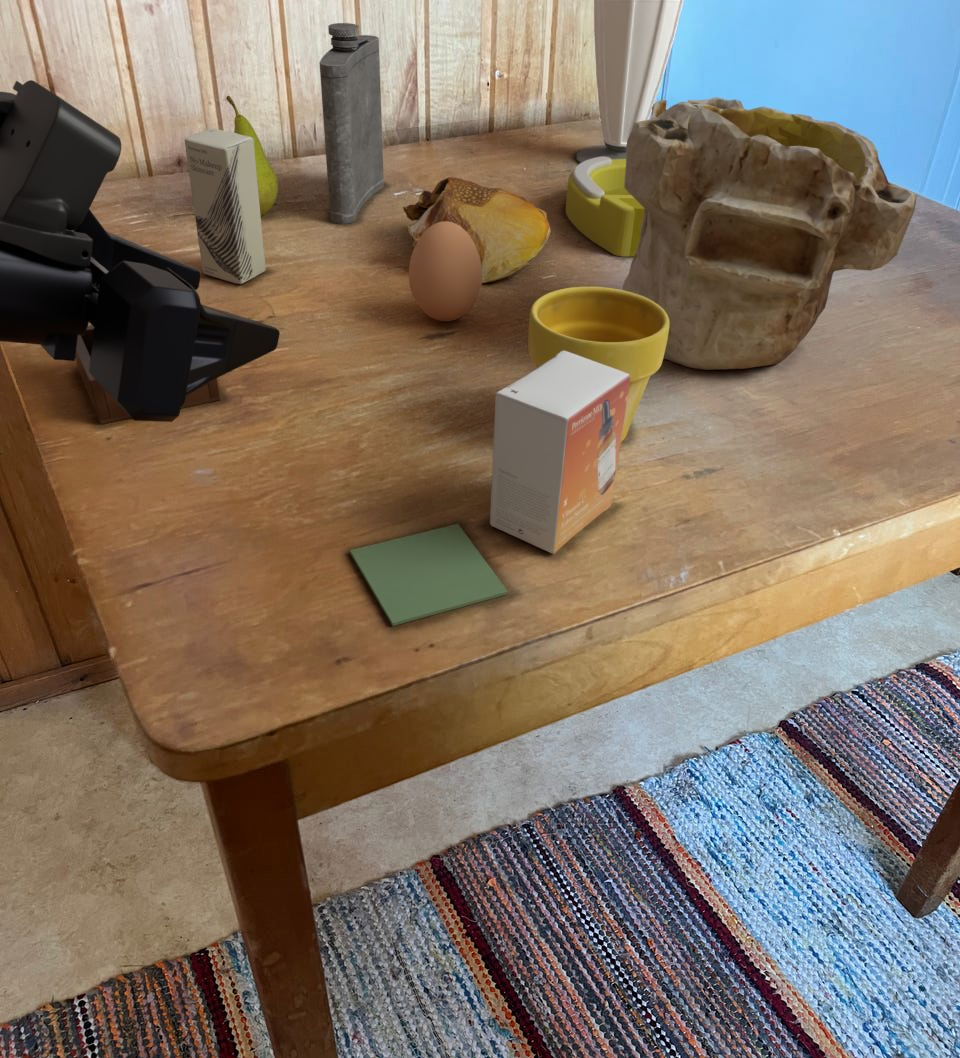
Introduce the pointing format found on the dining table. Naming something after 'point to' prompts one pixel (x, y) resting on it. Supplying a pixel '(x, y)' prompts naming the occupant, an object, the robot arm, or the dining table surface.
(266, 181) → the fruit
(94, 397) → the compartment
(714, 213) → the ceramic vessel
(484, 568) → the mat
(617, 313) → the flower pot
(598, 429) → the small box
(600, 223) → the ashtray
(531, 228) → the seashell
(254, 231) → the box
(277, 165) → the dining table surface
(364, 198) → the flask
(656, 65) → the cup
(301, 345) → the dining table surface
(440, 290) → the egg
